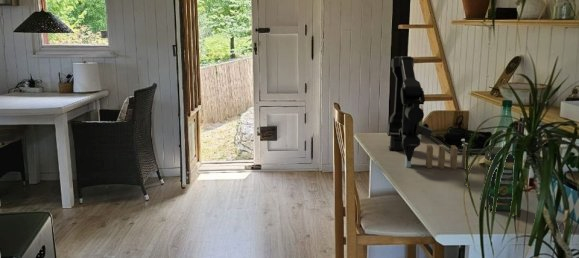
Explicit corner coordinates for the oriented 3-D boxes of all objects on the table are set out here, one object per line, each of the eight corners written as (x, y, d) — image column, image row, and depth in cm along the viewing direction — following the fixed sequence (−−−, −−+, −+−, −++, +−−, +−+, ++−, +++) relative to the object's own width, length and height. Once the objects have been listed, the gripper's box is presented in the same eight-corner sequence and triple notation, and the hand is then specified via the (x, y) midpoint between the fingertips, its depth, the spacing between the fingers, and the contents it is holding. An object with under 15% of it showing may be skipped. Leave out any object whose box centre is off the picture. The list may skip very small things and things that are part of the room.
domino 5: (461, 166, 210) (463, 145, 208) (465, 166, 210) (467, 146, 208) (464, 169, 205) (465, 148, 203) (468, 169, 205) (470, 149, 203)
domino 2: (425, 164, 211) (427, 144, 210) (429, 164, 211) (431, 144, 209) (427, 168, 206) (428, 147, 205) (431, 168, 206) (433, 147, 204)
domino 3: (437, 165, 211) (439, 145, 209) (441, 165, 211) (443, 145, 209) (439, 168, 206) (441, 148, 204) (444, 168, 206) (445, 148, 204)
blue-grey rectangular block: (405, 163, 212) (406, 143, 210) (409, 164, 212) (410, 143, 210) (406, 167, 207) (407, 146, 205) (410, 167, 207) (411, 146, 205)
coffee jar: (483, 210, 161) (488, 149, 157) (477, 202, 169) (482, 143, 165) (517, 212, 160) (523, 151, 156) (510, 203, 168) (515, 144, 164)
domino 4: (449, 165, 210) (451, 145, 209) (453, 165, 210) (455, 145, 208) (451, 169, 205) (453, 148, 204) (456, 169, 205) (457, 148, 204)
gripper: (435, 123, 196) (433, 165, 199) (428, 114, 214) (426, 152, 217) (404, 122, 197) (402, 164, 200) (399, 113, 215) (397, 151, 218)
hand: (407, 157), depth 209 cm, fingers open, 9 cm apart
